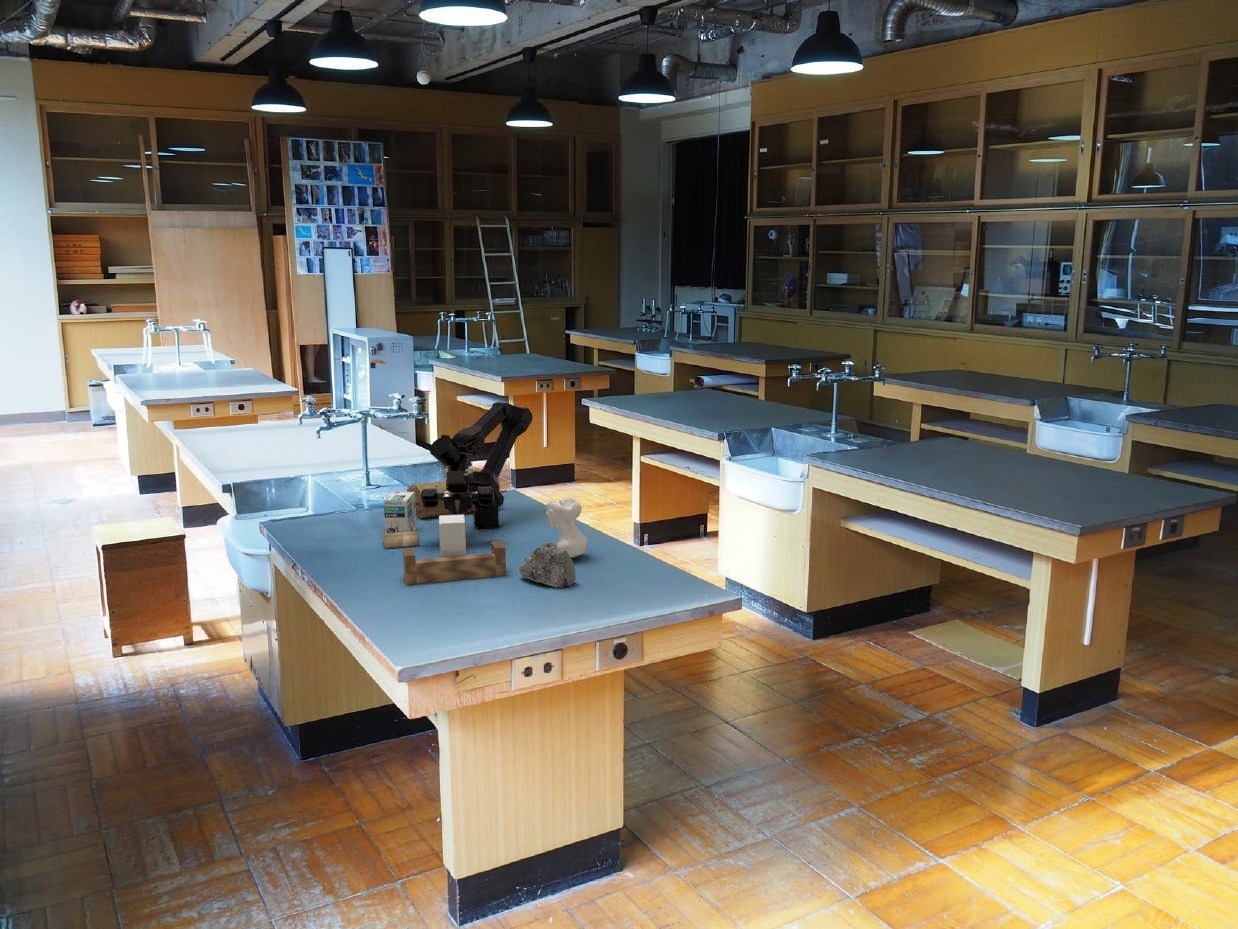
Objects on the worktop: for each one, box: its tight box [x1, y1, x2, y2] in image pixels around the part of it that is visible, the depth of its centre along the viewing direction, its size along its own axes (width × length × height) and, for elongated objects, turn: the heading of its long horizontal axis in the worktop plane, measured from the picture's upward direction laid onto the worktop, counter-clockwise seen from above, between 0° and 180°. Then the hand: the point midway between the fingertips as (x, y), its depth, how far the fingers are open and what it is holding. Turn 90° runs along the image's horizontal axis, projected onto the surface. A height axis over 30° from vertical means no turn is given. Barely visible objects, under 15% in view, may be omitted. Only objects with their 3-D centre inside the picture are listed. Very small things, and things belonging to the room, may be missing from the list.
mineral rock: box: [518, 541, 577, 589], centre depth 244 cm, size 13×11×10 cm
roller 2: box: [383, 534, 421, 550], centre depth 275 cm, size 9×3×3 cm
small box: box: [438, 514, 467, 558], centre depth 253 cm, size 8×6×13 cm
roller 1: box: [382, 530, 419, 544], centre depth 278 cm, size 9×3×3 cm
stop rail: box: [402, 540, 507, 586], centre depth 249 cm, size 24×6×7 cm, turn 107°
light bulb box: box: [383, 491, 418, 534], centre depth 286 cm, size 11×7×11 cm, turn 179°
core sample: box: [406, 479, 501, 519], centre depth 310 cm, size 14×26×10 cm, turn 119°
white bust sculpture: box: [545, 497, 588, 559], centre depth 263 cm, size 10×11×15 cm
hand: (457, 524), depth 270 cm, fingers closed
